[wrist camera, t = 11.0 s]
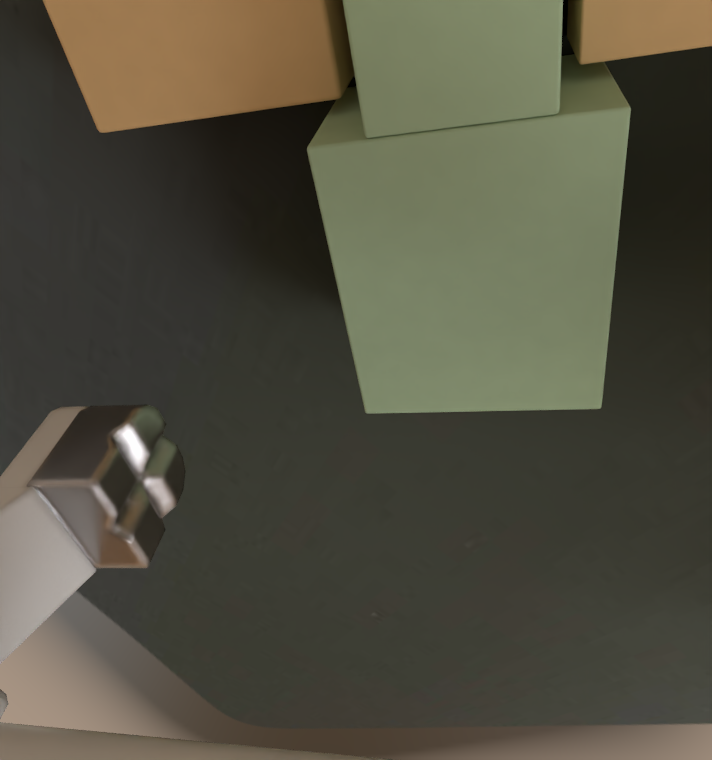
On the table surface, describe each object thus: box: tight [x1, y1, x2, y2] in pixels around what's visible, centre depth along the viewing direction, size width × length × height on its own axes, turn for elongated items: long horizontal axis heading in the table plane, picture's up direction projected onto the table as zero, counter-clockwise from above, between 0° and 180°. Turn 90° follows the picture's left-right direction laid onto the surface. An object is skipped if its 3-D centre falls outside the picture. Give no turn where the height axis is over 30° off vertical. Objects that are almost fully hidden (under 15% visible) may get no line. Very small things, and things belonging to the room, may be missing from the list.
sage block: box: [307, 0, 631, 413], centre depth 12 cm, size 5×8×4 cm, turn 10°
